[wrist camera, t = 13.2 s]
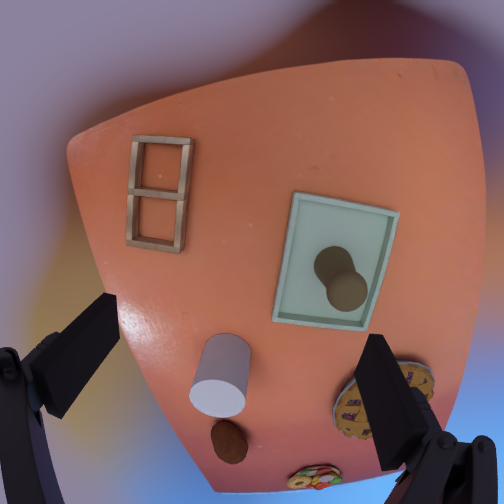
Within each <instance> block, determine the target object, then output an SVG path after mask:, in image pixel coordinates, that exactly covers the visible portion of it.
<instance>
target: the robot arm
mask: <svg viewBox="0 0 504 504" xmlns="http://www.w3.org/2000/svg"><path fill="white" fill-rule="evenodd" d="M119 335H120V334H119V324H118V313H117V300H116V295H112V294H108V293H103V294H102V295H101V296H100V297H99V298H97V299H96V300H95V301H94V302H93V303H92V304H91V305H90V306H89V307H88V308H87V309H85V310H84V311H83V312H82V313H81V314H80V315H79V316H78V317H77V318H76V319H75V320H74V321H73V322H72V323H71V324H70V325H69V326H67V327H66V328H65V329H64V330H63V331H62V332H61V333H58V332H54V333H52V334H50V335H48V336H46V337H45V338H44V339H43V340H42V341H41V343H39V344H38V345H37V346H36V348H34V349H33V350H32V351H31V352H30V353H29V354H28V355H27V356H26V357H25V358H24V359H23V360H22V361H20V359H19V356H18V353H17V351H16V350H15V349H13V348H10V347H3V348H0V464H1V471H2V477H3V483H4V489H5V494H6V498H7V503H8V504H65V503H64V501H63V497H62V494H61V491H60V489H59V485H58V482H57V478H56V475H55V472H54V468H53V464H52V460H51V456H50V452H49V448H48V444H47V440H46V434H45V429H44V424H43V419H42V413H41V411H40V408H41V407H42V406H43V404H44V405H45V408H46V410H47V412H48V413H49V414H51V415H53V416H55V417H57V418H60V419H62V418H63V416H64V415H65V413H66V412H67V411H68V409H69V408H70V406H71V405H72V403H73V402H74V401H75V399H76V398H77V396H78V395H79V393H80V392H81V391H82V389H83V388H84V386H85V385H86V384H87V382H88V381H89V379H90V378H91V377H92V375H93V374H94V373H95V371H96V370H97V369H98V367H99V366H100V364H101V363H102V362H103V360H104V359H105V358H106V356H107V355H108V354H109V352H110V351H111V350H112V348H113V347H114V346H115V344H116V343H117V342H118V340H119V339H120V336H119ZM354 377H355V380H356V383H357V386H358V389H359V393H360V396H361V399H362V402H363V406H364V409H365V412H366V416H367V419H368V422H369V426H370V429H371V433H372V436H373V440H374V444H375V447H376V451H377V454H378V458H379V462H380V466H381V470H382V471H389V470H397V469H398V468H399V467H400V466H401V465H402V464H403V463H404V462H405V465H406V470H405V471H404V472H403V473H402V474H401V475H400V476H399V477H398V478H397V479H396V481H395V482H397V484H396V485H395V487H394V489H393V490H392V492H391V493H390V495H389V497H388V498H387V500H386V501H385V503H384V504H498V479H497V478H498V476H497V457H496V448H495V444H494V442H493V441H492V440H491V439H490V438H488V437H487V436H484V435H480V436H477V437H476V438H475V439H474V440H473V442H472V443H464V442H458V441H457V439H456V438H455V436H454V435H452V434H451V433H449V432H446V431H442V429H441V427H440V425H439V423H438V421H437V419H436V417H435V415H434V413H433V411H432V409H431V407H430V405H429V403H428V401H427V399H426V397H425V395H424V393H423V392H422V391H421V390H419V389H418V388H417V387H410V386H409V384H408V382H407V380H406V378H405V376H404V374H403V372H402V370H401V368H400V366H399V364H398V363H397V361H396V359H395V357H394V355H393V353H392V351H391V349H390V347H389V346H388V344H387V342H386V340H385V338H384V336H383V335H381V334H369V337H368V339H367V342H366V345H365V347H364V350H363V353H362V355H361V358H360V360H359V363H358V365H357V368H356V370H355V373H354Z"/></svg>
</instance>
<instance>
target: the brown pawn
mask: <svg viewBox="0 0 504 504" xmlns="http://www.w3.org/2000/svg"><path fill="white" fill-rule="evenodd" d="M314 271H315V274H316V276H317V277H318V279H319V280H320V281H321V282H322V284H323V285H324V286H325V288H326V294H327V299H328V301H329V303H330V304H331V305H332V306H333V307H334V308H335V309H336V310H339V311H341V312H350V311H354V310H356V309H358V308H359V307H360V306H361V305H362V304H363V303H364V302H365V300H366V298H367V294H368V288H367V283H366V281H365V279H364V278H363V276H361V275H360V274H359V273H358V272H356V269H355V266H354V263H353V260H352V257H351V256H350V254H349V252H348V251H347V250H346V249H344V248H342V247H339V246H331V247H327V248H325V249H323V250H321V252H320V253H319V254H318V255H317V256H316V259H315V261H314Z"/></svg>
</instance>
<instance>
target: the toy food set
mask: <svg viewBox="0 0 504 504" xmlns="http://www.w3.org/2000/svg"><path fill="white" fill-rule="evenodd" d="M342 481H343V478H342V477H340V472H339V471H338V470H337V469H336V468H333V467H331V466H324V465H320V466H312V467H308V468H305V469H303V470H301V471H299V472H298V473H296V474H295V475H294V476H293V477H292V478H290V479H289V480H288V481H287V485H288V487H290V488H301V487H303V488H315V489H316V490H321V489H323V488H326V487H328V486H330V485H332V484H337V483H340V482H342Z"/></svg>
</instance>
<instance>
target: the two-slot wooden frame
mask: <svg viewBox="0 0 504 504" xmlns="http://www.w3.org/2000/svg"><path fill="white" fill-rule="evenodd" d="M145 143H162V144H178V145H183V149H182V158H181V166H180V176H179V185H178V191H176V190H166V189H157V188H147V187H141V178H142V166H143V156H144V147H145ZM194 144H195V139H192V138H183V137H168V136H147V135H133V141H132V149H131V159H130V171H129V184H128V202H127V228H126V245H127V246H133V247H139V248H145V249H151V250H157V251H163V252H169V253H176V254H180V253H181V252H182V251H183V250H184V244H185V230H186V219H187V207H188V197H189V187H190V178H191V169H192V160H193V152H194ZM140 196H144V197H154V198H162V199H171V200H177V207H176V220H175V234H174V241H168V240H161V239H154V238H148V237H141V236H138V226H139V205H140Z"/></svg>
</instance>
